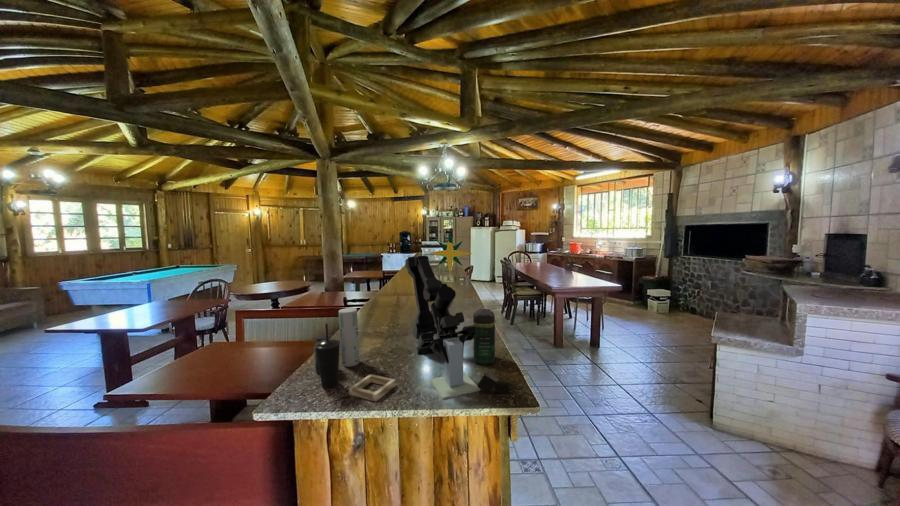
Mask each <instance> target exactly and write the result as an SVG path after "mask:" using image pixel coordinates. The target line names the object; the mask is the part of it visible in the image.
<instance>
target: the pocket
mask: <svg viewBox="0 0 900 506" xmlns="http://www.w3.org/2000/svg"><path fill="white" fill-rule="evenodd" d="M371 383H372V384H373V383H374V384H377V385H382V386H381V387H380V388H379V389H377V390H376V391H371V390H368V389H364V388H365V387H366V386H368V385H370V384H371ZM396 386H397V380H396V379H395V378H390V377H385V376H381V375H377V374H372V373H371V374H368V375H366V377H364V378H362V379H360V380H359V381H357V382H356V383H355V384H353V385H351V386H350V387H349V388H348V395H349V396H353V397H356V398H361V399H365V400H367V401H368V400H369V401H373V402H377V401H379V400H380V399H381V398H383V397H384V396H385V395H386V394H388V393H389V392H390V391H392V389H394V388H395V387H396Z"/></svg>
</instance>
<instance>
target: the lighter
mask: <svg viewBox="0 0 900 506" xmlns="http://www.w3.org/2000/svg"><path fill="white" fill-rule="evenodd" d="M495 376H496V374H495V373H494V372H488V373H484V374H483V376H482V377H481V379H480V381H479V382H478V383H477V384H476V385H477V386H478V388H480V390H482V391H483V392H485V393H487V394H488V395H489V394H491V392H492V391H493V389H494V391H495V392H496V393H498V394H502V395H503V394H504V395H505V394H506V395H508V394H509V393H510V389H511V388H510V387H511V383H510V382H505V381H501V380H497V378H495Z"/></svg>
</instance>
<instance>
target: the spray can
mask: <svg viewBox="0 0 900 506" xmlns="http://www.w3.org/2000/svg"><path fill="white" fill-rule="evenodd" d="M358 323H359V321H358V309H357V308H356V307H347V308H342V309H339V310H338V325H339V327H338V328H339V338H340V339H339V341H340V353H341V354H340V356H341V365H342V366H343V367H347V368H350V367H354V366H357V365H359V363H360V345H359V342H360V341H359V324H358Z"/></svg>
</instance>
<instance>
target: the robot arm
mask: <svg viewBox="0 0 900 506" xmlns="http://www.w3.org/2000/svg"><path fill="white" fill-rule="evenodd" d="M429 261H430V260H429V256H428V255H425V254H424V255H413V256H408V257H407V258H406V259H405V261H404V262H405V264H404V265H405V268H406V269H407V273H408V274H409V276H410V277H411V278H412V282H413V287H414V296H415V302H416V307H417V314H416V318H415V319H414V320H415V321H414V325H413V327H412V328H413V329H412V334H413V337H414V338H415V339H416V340H417V346H416V352H417V355H425V354H434V353H435V352H436V353H437V354H438V355H439V356H440V357H441V358H442V359H443V360H444V363H445V362H446V363H447V364H448V363H449V360H448V356H447V353H446V350H445V348H444V340H450V339H456V338H457V339H459V340H460V341H461V342H462V343H463V352H465V351H464V347H465V346H464V345H465V342H467V341H473V340H474V337H475V335H476V334H477V329H476V327H475V326H473V324H472V325H465V326H463V327H462V329H461V330H459V331H456V330H458V328H459V327H458V326H461V324H462V323H464V322H465V316H464V314H463V312H461V311H460V312H456V313H455V315H452V314H451V313H450V310H449V309H450V308H451V307H452V304H453V303H454V301H455V298H456V296H457V295H456V290H455V289H453V288H452V287H451V286H449V285H448V284H447V283H443V282H442V281H441V280H439V279H438V278H436V275H435V273H434V271H433V268H432V266H431V264H430V262H429ZM430 302H432V303H431V305H430V307H429V303H430Z"/></svg>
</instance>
